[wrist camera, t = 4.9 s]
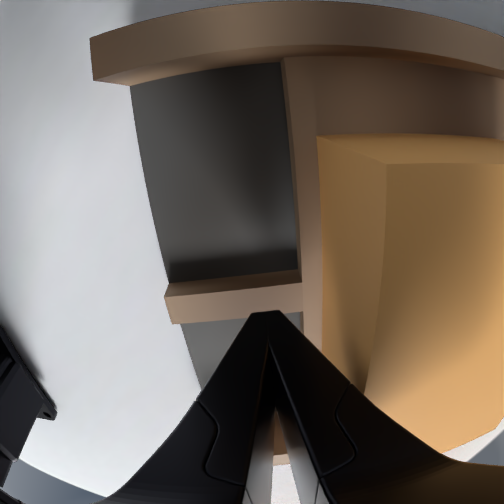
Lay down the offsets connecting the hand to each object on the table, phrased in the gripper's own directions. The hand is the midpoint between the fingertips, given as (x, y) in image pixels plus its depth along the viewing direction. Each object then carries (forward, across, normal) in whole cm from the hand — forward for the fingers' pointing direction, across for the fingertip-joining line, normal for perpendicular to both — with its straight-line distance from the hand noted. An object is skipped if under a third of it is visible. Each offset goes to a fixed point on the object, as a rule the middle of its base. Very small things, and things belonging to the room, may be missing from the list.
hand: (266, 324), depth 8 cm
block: (+1, -5, 0) cm, 5 cm away
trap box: (+2, -9, 0) cm, 9 cm away
